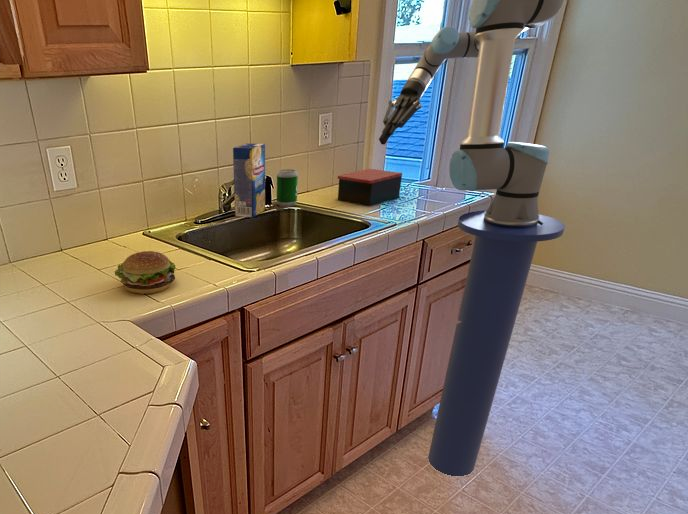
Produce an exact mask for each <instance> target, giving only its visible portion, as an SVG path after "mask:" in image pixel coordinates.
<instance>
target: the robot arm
mask: <svg viewBox="0 0 688 514" xmlns="http://www.w3.org/2000/svg"><path fill="white" fill-rule="evenodd" d="M564 1H565V0H472V1H471V4H470V7H469V12H468V21H469V22H468V23H469V26H470V27H471V28H473V29H475V31H467V32H459V31H458V29H457V28H456V27H452V26H450V25H448V26H444V27H442V28H440V29H439V31H437V33H436V34H435V35H434V36H433V38H432V39H431V42H430V43H429V46H428V47H427V48H426V49H425V50H424V52H423V53H422V55H421V57H420V59H419V61H418V62H417V64H416V66H415V68H414V69H413V71H412V72H411V73H410V75H409V77H408V78H407V80H406V81H405V84H404V85H403V87H402V88H401V90H400V94H399V95H398V96H397V97H396V99H395V100H389V101H388V107H387V110H386V112H385V114H384V118H383V119H382V123H383V124H384V125H383V126H384V128H382V131H381V135H380V136H379V137H378V140H379V143H380V144H381V145H386V144H387V142H388V140H389V139H390V137H391V136H393V135H394V133H395V131H396V130H397V129H398V128H399V129H401V128H404V126H405V125H406V124H407V123H408V121H410V120H411V118H412V117H413V116H414V115H415V113H417V112H418V111H419V110H420V109H421V108H422V103H421V102H420V101H421V98H422V97H423V96H424V94H425V92H426V90H427V89H428V87H429V85H430V84H431V82H432V80H433V79H434V77H435V76H436V74H437V72H438V71H439V70H440V68H441V67H442V65H443V64H444V63H445V61H446V60H453V59H475V58H477V62H476V70H475V76H474V83H473V91H472V98H471V105H470V112H469V120H468V127H467V134H466V137H465V139H463V140H462V141H461V142H460V143H459V149H457V150H455V151H454V152H453V153H452V154H451V158H450V160H449V166H448V169H449V170H448V171H449V178H450V181H451V184H452V185H453V187H454V188H455V189H456V190H458V191H464V192H465V191H467V192H474V191H486V190H487V191H489V190H496V191H495V195H494V197H493V198H492V201H491V203H490V204H489V206H488V207H487V209H486V210H487V211H486V213H485V216H484V221H485V222H486V223H488V224H491V225H494V226H499V227H506V228H529V227H534V226H536V225H537V224H538V223H539V224H540V225H542V224H543V223H542V222H541V221H539V214H540V213H539V212H540V211H539V201H538V198H539V195H540V190H541V186H542V183H543V181H544V180H543V179H544V175H545V173H546V168H547V165H548V164H549V158H550V157H549V155H550V149H549V148H548V147H547V146H544V145H541V144H536V143H535V144H534V143H527V142H517V141H508V142H507V143H506V145H504V144H505V141H504V140H503V138H502V137H501V135H500V133H501V128H502V122H503V116H504V109H505V105H506V98H507V92H508V85H509V80H510V73H511V67H512V60H513V55H514V49H515V42H516V39H517V38H518V37H519V36H520V34H522V33H523V32H526V31H527V30H529V29H532V30H533V29H537V28H540V27H541V26H543V25H545V24H546V23H549V22H550V21H552V19H553V18H554V17H556V16H557V14H558V13H559V11H560V10H561V9H562V6H563V4H564ZM504 146H505V147H504Z"/></svg>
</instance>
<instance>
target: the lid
mask: <svg viewBox="0 0 688 514" xmlns="http://www.w3.org/2000/svg"><path fill="white" fill-rule="evenodd" d="M399 176H402V177H403V172H398V171H391V170H383V169H375V168H366V169H362V170H361V169H360V170H358V171H357V170H356V171H354V172H349V173H343V174H340V175H337V179H338V180H339V179H343V180H350V181H356V182H363V183H369V184H371V183H375V182H379V181H383V180H387V179H391V178H395V177H399Z"/></svg>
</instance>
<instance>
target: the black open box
mask: <svg viewBox="0 0 688 514" xmlns="http://www.w3.org/2000/svg"><path fill="white" fill-rule="evenodd" d="M402 178H403V175H402V176H399V177H395V178H391V179H387V180H383V181H379V182H375V183H371V184H369V183H363V182H356V181H350V180H343V179H338V191H337V201H342V202H347V203H351V204H357V205H362V206H367V207H371V206H374V205H378V204H382V203H386V202H389V201H392V200H395V199H400V193H401V187H402V186H401V185H402Z"/></svg>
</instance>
